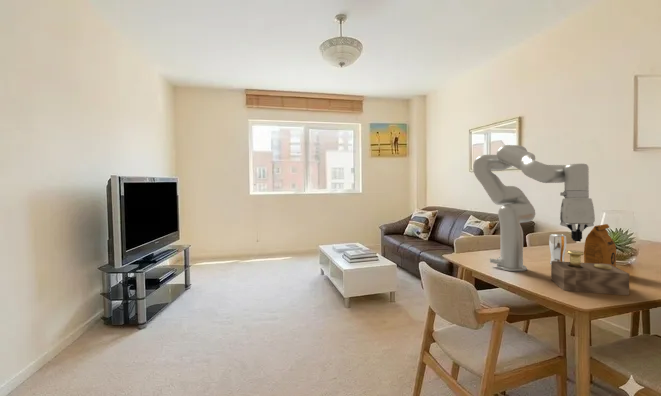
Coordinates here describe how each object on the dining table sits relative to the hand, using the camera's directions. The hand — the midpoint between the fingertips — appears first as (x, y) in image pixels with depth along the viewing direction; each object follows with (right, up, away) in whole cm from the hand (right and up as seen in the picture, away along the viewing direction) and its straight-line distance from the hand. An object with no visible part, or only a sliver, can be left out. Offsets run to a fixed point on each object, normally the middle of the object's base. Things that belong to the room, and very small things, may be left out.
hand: (576, 240), depth 122 cm
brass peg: (0, -12, +1) cm, 12 cm away
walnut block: (+4, -18, 0) cm, 19 cm away
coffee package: (+25, -17, +18) cm, 35 cm away
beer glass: (+16, -17, +33) cm, 40 cm away
